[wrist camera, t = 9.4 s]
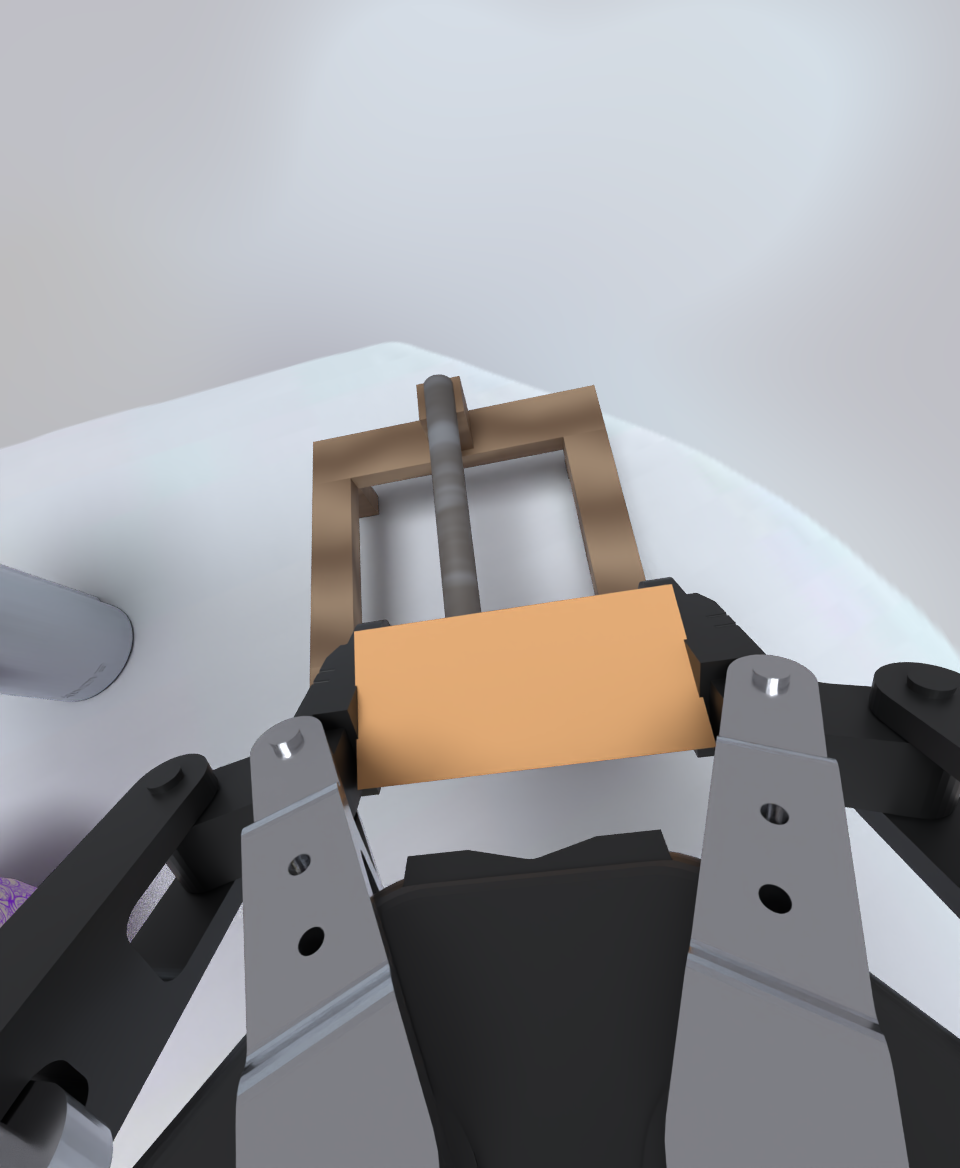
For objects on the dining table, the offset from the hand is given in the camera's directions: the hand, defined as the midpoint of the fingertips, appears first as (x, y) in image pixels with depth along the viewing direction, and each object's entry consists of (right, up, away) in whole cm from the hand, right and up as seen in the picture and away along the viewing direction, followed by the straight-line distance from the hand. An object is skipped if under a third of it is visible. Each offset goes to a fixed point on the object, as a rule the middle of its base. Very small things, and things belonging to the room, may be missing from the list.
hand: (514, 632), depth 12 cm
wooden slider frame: (-1, +1, +28) cm, 28 cm away
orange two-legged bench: (+1, -4, +7) cm, 8 cm away
